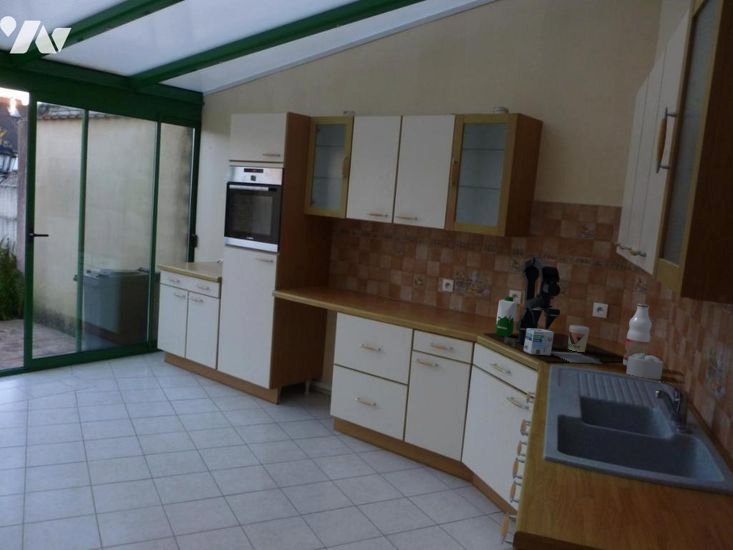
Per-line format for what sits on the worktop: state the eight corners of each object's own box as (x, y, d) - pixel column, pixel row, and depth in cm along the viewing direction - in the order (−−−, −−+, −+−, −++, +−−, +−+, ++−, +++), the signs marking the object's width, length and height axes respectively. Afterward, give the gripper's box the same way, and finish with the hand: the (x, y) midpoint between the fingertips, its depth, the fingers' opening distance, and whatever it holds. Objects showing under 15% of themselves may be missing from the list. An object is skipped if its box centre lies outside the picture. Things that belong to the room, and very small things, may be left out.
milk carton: (514, 335, 319) (519, 298, 317) (509, 337, 311) (514, 299, 309) (497, 332, 323) (502, 295, 321) (492, 334, 315) (497, 296, 313)
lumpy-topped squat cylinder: (663, 380, 251) (666, 359, 250) (631, 376, 251) (634, 356, 250) (652, 374, 261) (655, 354, 260) (621, 370, 261) (624, 350, 260)
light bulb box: (530, 354, 274) (533, 330, 273) (522, 350, 281) (526, 327, 280) (551, 355, 277) (554, 332, 276) (543, 351, 284) (546, 329, 283)
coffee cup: (562, 349, 295) (566, 325, 294) (571, 348, 302) (574, 324, 300) (580, 354, 288) (584, 329, 287) (589, 352, 295) (593, 328, 294)
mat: (548, 352, 283) (548, 351, 283) (577, 354, 287) (577, 353, 287) (570, 362, 265) (571, 361, 265) (602, 364, 270) (602, 362, 270)
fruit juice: (634, 368, 267) (644, 305, 265) (618, 363, 276) (627, 302, 273) (650, 368, 271) (659, 306, 268) (633, 363, 280) (642, 303, 277)
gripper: (519, 289, 283) (514, 322, 284) (541, 295, 265) (536, 330, 267) (540, 290, 286) (535, 323, 288) (563, 297, 268) (558, 332, 270)
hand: (540, 327), depth 278 cm, fingers open, 9 cm apart
